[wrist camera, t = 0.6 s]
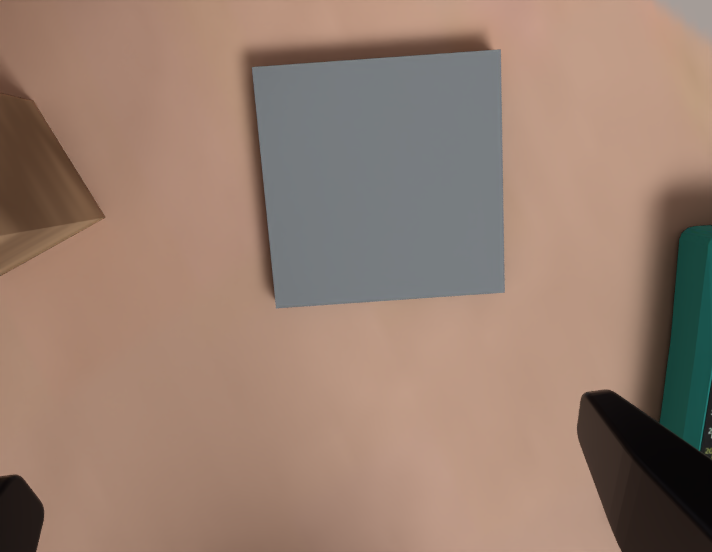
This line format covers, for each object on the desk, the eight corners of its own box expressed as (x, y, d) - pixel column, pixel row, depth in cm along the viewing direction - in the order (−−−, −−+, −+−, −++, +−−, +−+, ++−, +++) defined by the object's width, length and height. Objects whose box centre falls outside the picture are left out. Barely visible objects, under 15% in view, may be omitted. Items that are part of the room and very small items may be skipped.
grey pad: (499, 288, 22) (504, 292, 21) (278, 303, 22) (276, 308, 21) (494, 54, 20) (500, 49, 19) (255, 71, 20) (251, 66, 19)
